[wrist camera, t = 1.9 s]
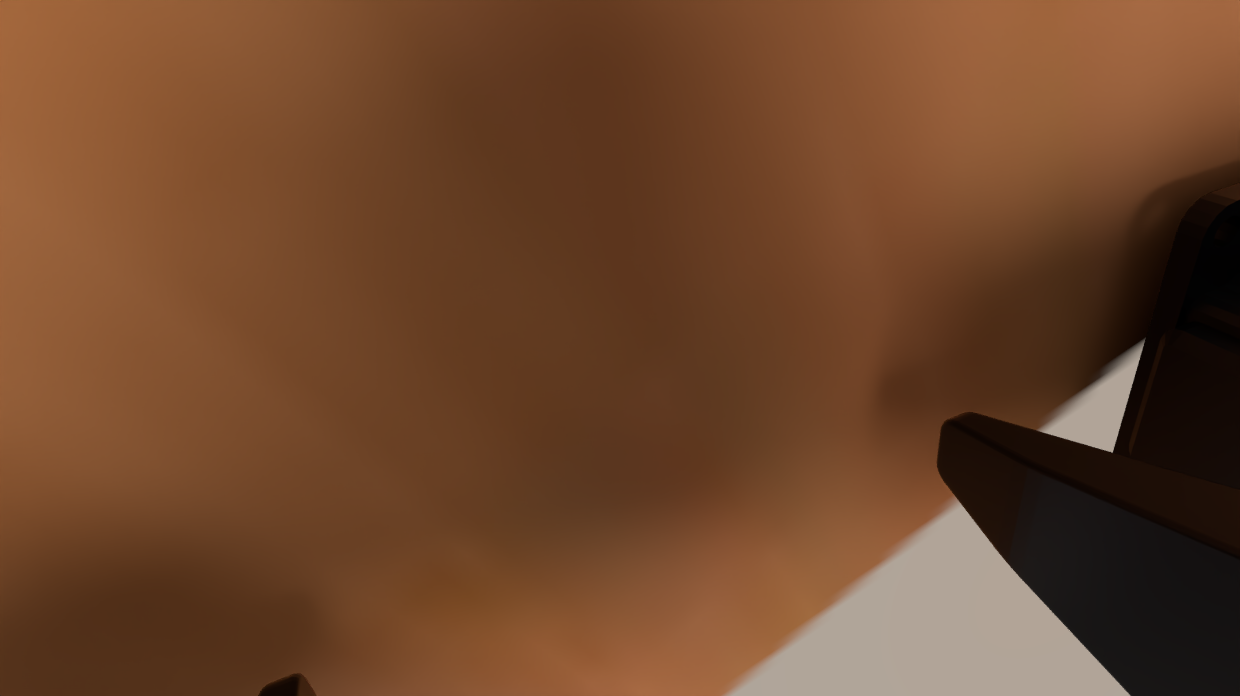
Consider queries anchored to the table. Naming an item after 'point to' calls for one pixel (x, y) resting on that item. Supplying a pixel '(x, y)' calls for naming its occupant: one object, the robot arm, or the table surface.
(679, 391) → the table surface
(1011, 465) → the robot arm
